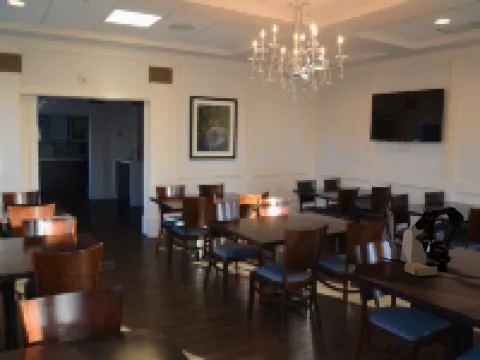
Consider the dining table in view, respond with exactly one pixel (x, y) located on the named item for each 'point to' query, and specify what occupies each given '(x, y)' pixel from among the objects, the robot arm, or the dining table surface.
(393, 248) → the ink cartridge box
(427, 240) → the robot arm
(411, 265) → the carton
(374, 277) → the dining table surface
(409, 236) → the milk
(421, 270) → the flap
